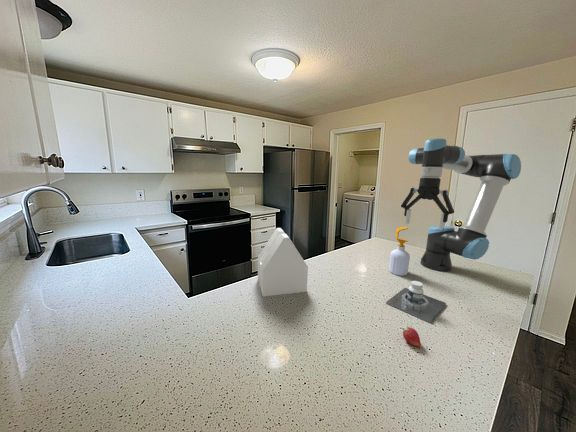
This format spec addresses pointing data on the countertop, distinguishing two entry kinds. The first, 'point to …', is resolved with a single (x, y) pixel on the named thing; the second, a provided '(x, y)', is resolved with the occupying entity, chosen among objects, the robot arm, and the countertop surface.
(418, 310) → the duct plate
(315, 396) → the countertop surface
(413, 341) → the fruit
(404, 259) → the soap bottle
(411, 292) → the pill bottle
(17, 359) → the countertop surface
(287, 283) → the white toy house
